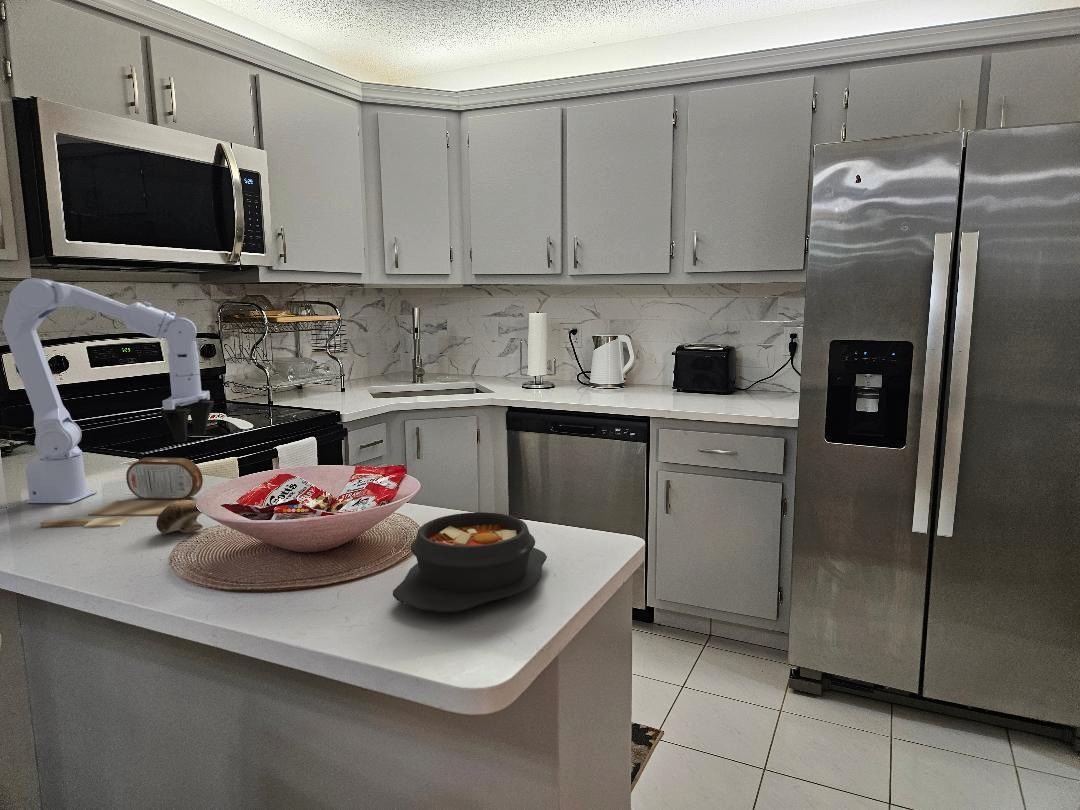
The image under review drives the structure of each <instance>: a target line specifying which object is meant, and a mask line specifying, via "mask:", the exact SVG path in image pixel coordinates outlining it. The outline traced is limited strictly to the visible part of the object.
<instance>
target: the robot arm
mask: <svg viewBox="0 0 1080 810" xmlns="http://www.w3.org/2000/svg"><path fill="white" fill-rule="evenodd" d="M77 306H78V307H82V308H84V309H88V310H91V311H93V312H98V313H100V314H104V315H108V316H110V317H114V318H116V319H120V320H122V321H123V323H124V324H125V326H126V328H127V329H129V330H133V331H135V332H138V333H141V334H145V335H147V336H150V337H153V338H156V339H160V340H161V339H164V338H165V340H166V341H167V346H168V354H167V357H168V358H167V359H168V370H169V371H168V372H169V381H170V390H171V391H170V393H171V396H169V397H168V398H166V399H164V400H162V408H160V409H159V411H160V413H159V414H160V415H161V416H162V417H163V418H164V420H165V422H166V423H167V425H168V427H169V429H170V431H171V435H172V437H173V439H174V442H175V443H181V442H182V443H184V442H187V439H188V420H189V416H190V419H191V423H192V429H193V433H194V435H195V436H197V435H203V436H204V435H206V433H207V428H208V423H209V417H210V414H211V412H212V409H213V408H214V406H215V403H214V402H215V401H214V400H210V399H211V395H210V390H202V381H201V370H200V361H199V359H200V358H199V352H198V344H197V343H196V342H197V341H196V340H195V339H196V337H197V334H198V330H197V326H196V325H195V323H194V322H193V321H192V320H190V319H188V318H186V317H185V316H176V315H177V313H176V312H174V311H170V312H167V311H165V310H162V309H159V308H156V307H153V306H152V303H150V302H148V301H144V302H143V303H142V302H139V301H137V302H134V303H131V304H125V303H122V302H120V301H117V300H115V299H112V298H110V297H107V296H105V295H102V294H99V293H96V292H93V291H91V290H90V289H89V290H88V289H85V288H83V287H80V286H77V285H72V284H68V283H62V282H58V281H54V280H52V279H47V278H46V279H44V278H43V279H42V278H37V277H30V278H29V277H28V278H26V279H24V280H22V281H20V282H19V283H18V284H17V285H16V286H15V287H14V289H12V291H10V292H9V300H8V304H7V308H6V311H5V313H4V317H3V319H2V320H3V321H2V326H1V327H2V330H3V333H4V336H5V338H6V340H7V341H6V342H7V343H8V345H9V349H10V352H11V354H12V357H13V360H14V362H15V365H16V369H17V370H18V372H19V373H18V374H19V375H20V379H21V381H22V384H23V387H24V390H25V391H26V395H27V397H28V399H29V400H28V401H29V402H30V405H31V409H32V411H33V426H34V429H35V439H34V446H35V449H36V450H37V451H38V453H39V455H36V456H34V457H31V459H30V460H29V461H28V462H27V465H26V469H25V476H26V484H27V485H26V486H27V490H28V491H27V492H28V498H29V499H28V500H26V501H25V503H26V504H72V503H74V502H77V501H79V500H82V499H84V498H87V497H89V496H92V495H94V494H97V493H98V490H97V489H96V490H95V489H93V490H92V489H88V490H87V481H86V476H85V475H86V474H85V466H84V458H83V457H84V456H83V451H82V449H80V447H79V446H78V444H79V443H81V440H82V429H81V428H80V426H79V425H78V424H77V423H76V422H75V421H73V419H72V417H71V414H70V412H69V411H68V410H67V409H66V407H65V406H64V404H63V402H62V399H61V396H60V393H59V390H58V388H57V387H58V386H57V384H56V382H55V378H54V376H53V374H52V370H51V368H50V365H49V362H48V360H47V356H46V353H45V351H44V348H43V345H42V343H41V340H40V338H39V335H38V331H37V330H38V328H39V326H40V325H41V324H42V322H44V320H45V319H46V317H47V316H49V315H50V314H52V313H54V312H55V311H56V310H57V309H59V308H61V307H77ZM183 406H186V408H185V409H184V407H183Z"/></svg>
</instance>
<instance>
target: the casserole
mask: <svg viewBox="0 0 1080 810" xmlns="http://www.w3.org/2000/svg"><path fill="white" fill-rule="evenodd" d="M535 545H536V539H535V537H534V535H532V534H531V533H530V530H529V527H528V525H527V523H525V521H524V520H522V519H520V518H518V517H515V516H512V515H508V514H504V513H496V512H464V513H463V512H462V513H456V514H449V515H445V516H440V517H438V518H435V519H432V520H430V521H428V522H425V523H423V524H422V525H421V526H420V527H419V529H418V531H417V533H416V537H415V539H414V540H413V542H412V543H411V545H410V551H411V553H412V555H414V557H416V561H417V563H415V564H414V565H413V566H412V567H411V568H410V569H409V570H408V572H407V573H406V576H405V578H404V579H403V580H402V582H400V583H399V584H398V585H397V586H396V587H395V588H394V589H393V590H392V596H393V598H394V599H395V600H396V601H398V602H400V603H402V604H403V605H405V606H409V607H412V608H414V609H418V610H423V611H428V612H436V613H437V612H438V613H458V612H464V611H466V610H468V609H472V608H474V607H477V606H480V605H483V604H484V603H485V604H486V603H489V602H493V601H497V600H500V599H501V600H502V599H505V598H510V597H513V596H515V595H517V594H521V593H523V592H524V591H526V590H528V589H530V588H532V587H534V585H535V584H536V583H538V582H539V580H540V578H541V577H542V571H543V565H544V564H545V562H546V560H547V558H548V556H547V554H546V553H545V552H544V551H542V550H541V549H539V548H536V547H535Z"/></svg>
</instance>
